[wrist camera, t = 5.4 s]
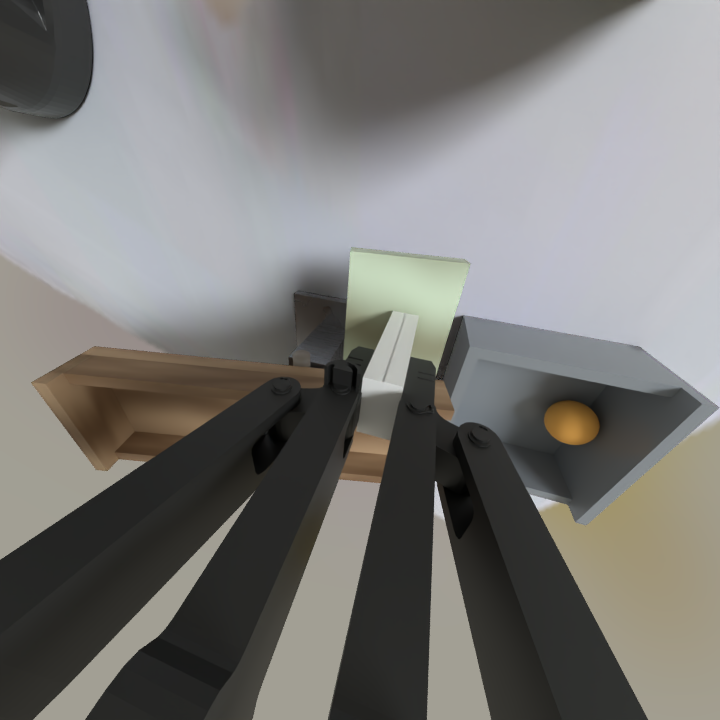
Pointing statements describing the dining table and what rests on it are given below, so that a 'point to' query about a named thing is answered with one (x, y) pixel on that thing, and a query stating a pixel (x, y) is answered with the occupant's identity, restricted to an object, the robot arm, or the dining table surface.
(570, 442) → the ball
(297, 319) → the stand
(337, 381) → the robot arm
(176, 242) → the dining table surface
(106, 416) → the chute
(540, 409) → the grey tray
